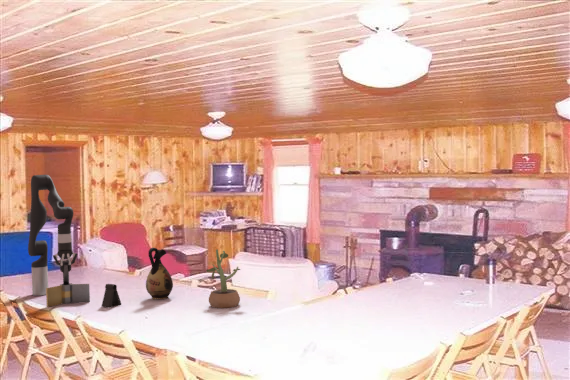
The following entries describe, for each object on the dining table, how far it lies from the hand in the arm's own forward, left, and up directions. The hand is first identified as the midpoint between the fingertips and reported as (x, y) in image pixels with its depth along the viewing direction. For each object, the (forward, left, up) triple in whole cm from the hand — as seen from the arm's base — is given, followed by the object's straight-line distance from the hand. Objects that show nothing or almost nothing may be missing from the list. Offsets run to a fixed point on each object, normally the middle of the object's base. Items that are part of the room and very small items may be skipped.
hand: (65, 271), depth 358 cm
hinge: (+2, 0, -18) cm, 18 cm away
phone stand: (+24, +20, -18) cm, 36 cm away
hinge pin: (0, 0, -8) cm, 8 cm away
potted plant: (+57, +73, -18) cm, 94 cm away
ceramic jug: (+20, +48, -18) cm, 55 cm away
